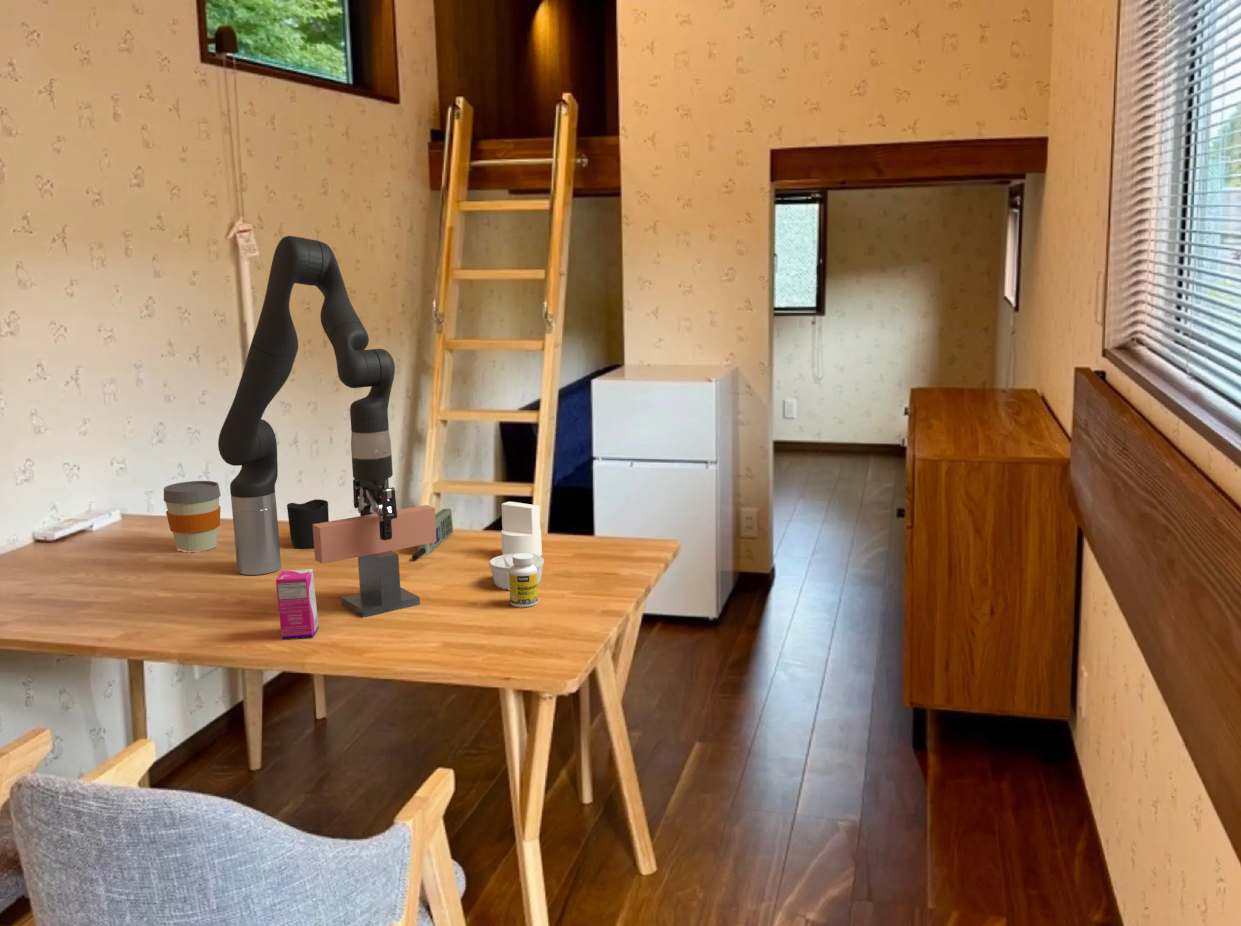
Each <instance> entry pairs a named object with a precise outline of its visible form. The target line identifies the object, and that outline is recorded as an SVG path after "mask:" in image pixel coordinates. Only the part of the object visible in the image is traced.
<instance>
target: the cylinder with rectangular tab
mask: <svg viewBox="0 0 1241 926" xmlns="http://www.w3.org/2000/svg"><path fill="white" fill-rule="evenodd" d="M540 509H541V508H540V505H538V504H529V503H524V502H523V503H522V502H517V501H506V502H503V503H501V526H502V530H501V531H500V532H501V533H500V534H501V553H502V555H505V554H513V553H530V554H536V555H539V556H541V555H542V556H543V548H542V529H541V513H540V512H541V511H540Z"/></svg>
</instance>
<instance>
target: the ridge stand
mask: <svg viewBox="0 0 1241 926" xmlns="http://www.w3.org/2000/svg"><path fill="white" fill-rule="evenodd" d="M399 559H400V557H399V553H397V552H395V551H394V550H392V551H387V552H382V553H377V554H371V555H366V556H361V557H357V566H358V578H359V580H358V581H359V593H354V594H351V595H346V596H342V597H341V598H340V599H341V605H342V606H343V607H345V608H347V609H349V610H350V611H352V612H353V613H355V614H356V615H358V616H360V617H362V618H366V617H371V616H375V615H380V614H384V613H388V612H392V611H396V610H401V609H404V608H409V607H414V606H419V605H420V604H421V598H420V596H418V595H416V594H414V593H413V592H410V591H409V590H407V589H406V588H403V587H401V578H400V577H401V576H400V560H399Z"/></svg>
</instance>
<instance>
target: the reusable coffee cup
mask: <svg viewBox="0 0 1241 926" xmlns="http://www.w3.org/2000/svg"><path fill="white" fill-rule="evenodd" d="M221 496H222V495H221V490H220V485H219V482H216V481H214V480H213V481H212V480H211V481H210V480H194V481H184V482H183V481H182V482H177V483H172V484H169V485H167V486H165V487H163V501H164V503H165V504H166V505H165V507H166V510H167V511H166V512H165V513H166V518H167V522H168V526H169V530H170V531H171V532H172V535H173V539H174V543H175V546H176V547H177V548H178V549H182V550H186V551H202V550H207V549H212V548H214V549H216V548H217V547H218V533H219V530H218V529H219V527H220V526H221V525H220V524H221V510H222V509H221V506H220V497H221ZM216 546H217V547H216ZM215 547H216V548H215ZM177 548H176V549H177ZM212 550H213V549H212Z"/></svg>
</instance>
